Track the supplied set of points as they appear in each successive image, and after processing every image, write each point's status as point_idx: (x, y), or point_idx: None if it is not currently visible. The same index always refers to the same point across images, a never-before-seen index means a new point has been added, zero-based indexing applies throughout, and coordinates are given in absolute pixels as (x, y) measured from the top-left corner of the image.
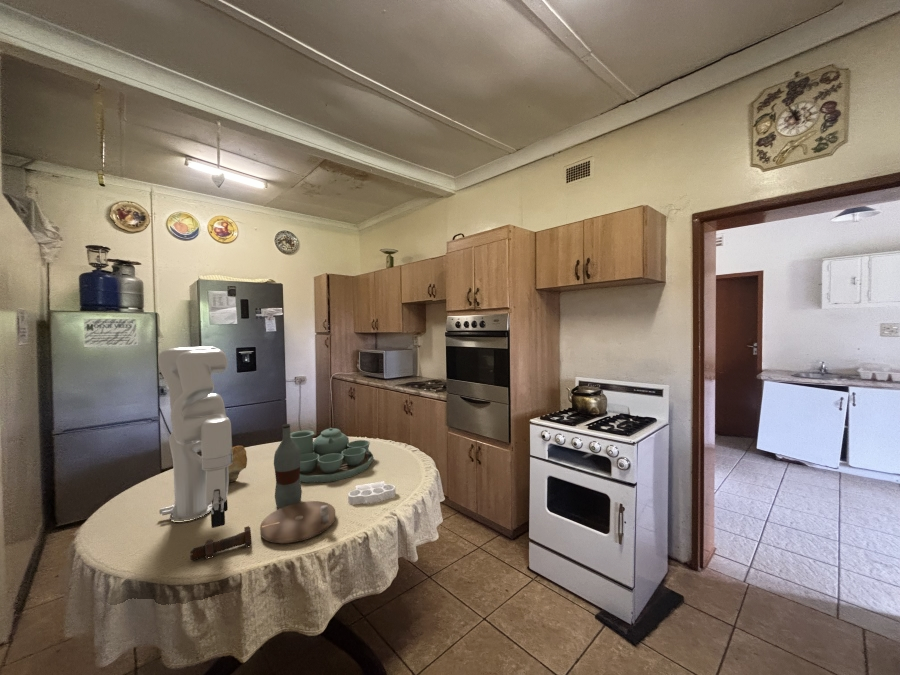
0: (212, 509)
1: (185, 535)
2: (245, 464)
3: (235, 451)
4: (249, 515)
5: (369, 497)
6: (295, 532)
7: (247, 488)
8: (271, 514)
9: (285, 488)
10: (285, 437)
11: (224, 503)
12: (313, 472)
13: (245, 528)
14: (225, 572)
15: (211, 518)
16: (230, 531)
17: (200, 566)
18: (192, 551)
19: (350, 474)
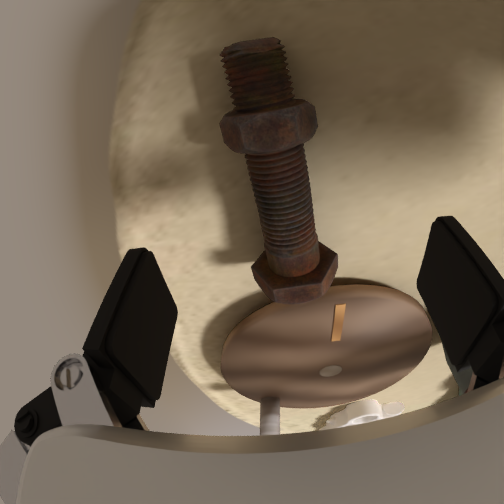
0: (18, 416)
1: (489, 21)
2: None
3: None
4: (494, 229)
5: (331, 428)
6: (245, 368)
7: None
8: (414, 315)
9: (469, 372)
10: None
11: (445, 323)
12: None
13: (307, 288)
14: (125, 206)
15: (101, 311)
16: (438, 175)
17: (189, 99)
18: (232, 54)
19: (460, 391)
